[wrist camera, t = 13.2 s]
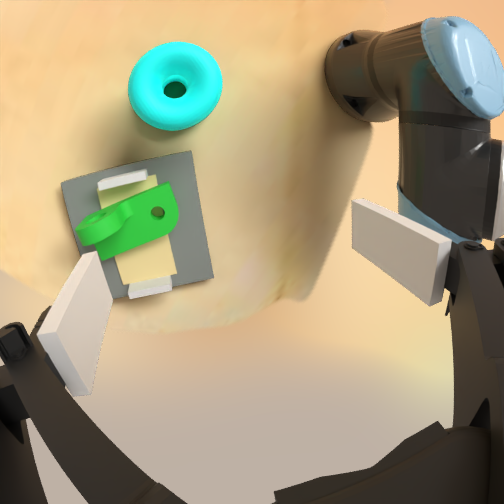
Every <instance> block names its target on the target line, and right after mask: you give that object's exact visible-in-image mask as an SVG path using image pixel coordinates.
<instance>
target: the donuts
mask: <svg viewBox="0 0 504 504" xmlns="http://www.w3.org/2000/svg"><path fill="white" fill-rule="evenodd" d="M174 81H177V82H181V83H182V84H183V85H184V86H185V87H186V93H185V94H184V95H183V96H182V97H180V98H176V99H172V98H169V97H167V96H166V95H165V94H164V88H165V87H166V85H167V84H169V83H171V82H174ZM221 92H222V75H221V71H220V68H219V66H218V64H217V62H216V61H215V59H214V58H213V57H212V56H211V55H210V54H209V53H208V52H207V51H206V50H204V49H203V48H201V47H199V46H197V45H194V44H191V43H186V42H170V43H165V44H162V45H159V46H157V47H155V48H153V49H151V50H150V51H148V52H147V53H146V54H145V55H143V56H142V57H141V58H140V60H139V61H138V62H137V63H136V65H135V66H134V68H133V70H132V72H131V75H130V78H129V83H128V95H129V100H130V103H131V105H132V108H133V109H134V111H135V112H136V114H137V115H138V116H139V117H140V118H141V119H142V120H143V121H144V122H146V123H147V124H149V125H151V126H153V127H156V128H159V129H163V130H168V131H177V130H183V129H186V128H189V127H192V126H194V125H196V124H198V123H199V122H201V121H202V120H204V119H205V118H206V117H207V116H208V115H209V114H210V113H211V112H212V111H213V110H214V108H215V107H216V105H217V103H218V101H219V99H220V96H221Z"/></svg>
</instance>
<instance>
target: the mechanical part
mask: <svg viewBox="0 0 504 504" xmlns="http://www.w3.org/2000/svg"><path fill="white" fill-rule="evenodd" d="M157 206H159V207H161V208H163V209H164V211H165V212H164V214H163V215H162V216H155V215H154V214H153V213H152V209H153V208H154V207H157ZM178 216H179V212H178V204H177V201H176V199H175V196H174V193H173V191H172V188H171V185H170V183H169V181H168V182H165V183H162V184H160V185H157V186H155V187H152V188H150V189H147V190H145V191H143V192H140V193H138V194H135V195H133V196H131V197H128V198H126V199H124V200H121V201H119V202H117V203H114V204H112V205H110V206H108V207H105V208H103V209H101V210H99V211H96V212H94V213H92V214H90V215H88V216H86V217H85V218H84V219H83V221H82V222H81V223H80V224H79V225H78V226H77V227H76V228H75V231H76V233H77V235H78V237H79V239H80V242H81V244H82V245H83V246H88V245H91V244H94V245H95V247H96V249H97V252H98V254H99V256H100V258H101V260H102V261H104V260H106V259H108V258H111V257H113V256H115V255H118V254H120V253H123V252H125V251H128V250H130V249H133V248H135V247H137V246H140V245H142V244H145V243H147V242H150V241H152V240H155V239H157V238H160V237H162V236H165V235H167V234H168V233H170V232H171V231H172V230H173V229H174V227H175V226H176V224H177V221H178Z"/></svg>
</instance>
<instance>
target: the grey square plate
mask: <svg viewBox="0 0 504 504" xmlns="http://www.w3.org/2000/svg"><path fill="white" fill-rule="evenodd" d="M168 181H169V183H170V185H171V188H172V191H173V193H174V196H175V199H176V201H177V204H178V212H179V216H178V221H177V224H176V226H175V227H174V229H173V230H172V231H171V232H170V233H168V234H167V235H165V236H162V237H160V238H157V239H155V240H152V241H150V242H147V243H145V244H142V245H140V246H137V247H135V248H133V249H130V250H128V251H125V252H123V253H120V254H118V255H115V256H113V257H111V258H108V259H106V260H104V261H102V260H101V258H100V256H99V254H98V257H99V260H100V263H101V266H102V269H103V272H104V275H105V278H106V281H107V284H108V287H109V290H110V293H111V295H112V298H113V299H115V298H120V297H125V296H129V298H130V299H133V298H138V297H143V296H148V295H153V294H158V293H163V292H167V291H172V287H174V286H179V285H183V284H188V283H193V282H197V281H202V280H207V279H212V278H214V275H213V270H212V265H211V259H210V254H209V249H208V244H207V238H206V233H205V227H204V222H203V216H202V211H201V205H200V199H199V193H198V187H197V181H196V175H195V169H194V163H193V157H192V151H186V152H181V153H175V154H170V155H165V156H161V157H156V158H151V159H147V160H142V161H138V162H134V163H129V164H125V165H121V166H117V167H113V168H109V169H105V170H101V171H98V172H94V173H90V174H87V175H83V176H80V177H76V178H73V179H69V180H66V181H64V182H62V183H61V187H62V191H63V195H64V199H65V203H66V207H67V211H68V215H69V218H70V222H71V226H72V229H73V233H74V236H75V239H76V243H77V246H78V249H79V252H80V255H81V256H82V255H83V254H86V253H90V252H94V251H97V249H96V247H95V245H94V244H91V245H88V246H83V245H82V244H81V242H80V239H79V237H78V235H77V233H76V231H75V228H76V227H77V226H78V225H79V224H80V223H81V222H82V221H83V219H84V218H85V217H86V216H88V215H90V214H92V213H94V212H96V211H99V210H101V209H103V208H105V207H108V206H110V205H112V204H114V203H117V202H119V201H121V200H124V199H126V198H128V197H131V196H133V195H135V194H138V193H140V192H143V191H145V190H147V189H150V188H152V187H155V186H157V185H160V184H162V183H165V182H168ZM164 212H165V211H164V209H163V208H161V207H159V206H157V207H154V208H153V209H152V213H153V214H154V215H155V216H162V215H163V214H164ZM97 253H98V252H97Z"/></svg>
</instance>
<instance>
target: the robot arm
mask: <svg viewBox="0 0 504 504" xmlns="http://www.w3.org/2000/svg"><path fill="white" fill-rule="evenodd" d="M325 75H326V80H327V84H328V87H329V89H330V92H331V94H332V96H333V97H334V99H335V100H336V102H337V103H338V104H339V105H340V107H341V108H342V109H343V110H344V111H346V112H347V113H348V114H349V115H351V116H353V117H354V118H357V119H359V120H362V121H366V122H385V121H389V120H392V119H394V118H396V117H398V116H399V177H398V182H397V190H398V212H399V214H397V213H395V212H393V211H391V210H389V209H386V208H384V207H382V206H380V205H377V204H375V203H373V202H370V201H368V200H366V199H357V200H352V248H353V249H354V250H355V251H357V252H358V253H360V254H361V255H362V256H364V257H365V258H367V259H368V260H369V261H370V262H372V263H373V264H375V265H376V266H377V267H379V268H380V269H381V270H383V271H384V272H385V273H387V274H388V275H389V276H391V277H392V278H393V279H395V280H396V281H397V282H398V283H400V284H401V285H402V286H404V287H405V288H406V289H408V290H409V291H410V292H412V293H413V294H414V295H415V296H417V297H418V298H419V299H420V300H422V301H423V302H424V303H426V304H427V305H428V306H432V305H434V304H436V303H439V302H441V301H442V297H443V293H444V288H446V289H447V290H448V291H450V296H449V300H448V305H447V309H446V313H445V315H446V316H447V315H448V313H449V312H450V318H451V330H452V343H453V363H454V416H453V427H452V428H448V429H444V428H443V427H442V425H441V424H440V423H439V422H438V421H437V422H435V423H433V424H432V425H430V426H428V427H426V428H425V429H423V430H421V431H419V432H418V433H416V434H414V435H413V436H411V437H409V438H407V439H405V440H404V441H403V442H402V443H400V444H399V445H398V446H397V447H396V448H395V449H394V450H393V451H391V452H390V453H389V454H388V455H386V456H385V457H384V458H383V459H382V460H380V461H379V462H378V463H377V464H375V465H374V466H373V467H371V468H368V469H364V470H359V471H354V472H349V473H343V474H337V475H331V476H323V477H319V478H316V479H313V480H310V481H307V482H304V483H301V484H298V485H294V486H291V487H288V488H285V489H281V490H278V491H274V495H275V500H276V502H274V503H272V504H504V238H499V237H501V236H502V235H504V141H501V140H496V139H492V138H491V137H490V119H493V118H495V117H497V116H499V115H500V114H501V113H502V112H503V111H504V70H503V66H502V63H501V61H500V58H499V56H498V54H497V52H496V50H495V48H494V47H493V46H492V44H491V43H490V41H489V40H488V38H487V37H486V36H485V34H484V33H483V32H482V31H481V30H480V29H479V28H478V27H476V26H475V25H474V24H472V23H471V22H469V21H468V20H465V19H463V18H460V17H456V16H448V17H441V18H428V19H426V20H424V21H421V22H418V23H414V24H410V25H407V26H404V27H401V28H397V29H394V30H391V31H388V32H378V31H370V30H358V31H353V32H350V33H348V34H346V35H343V36H341V37H340V38H338V39H337V40H336V41H335V42H334V43H333V44H332V46H331V47H330V49H329V51H328V53H327V57H326V62H325ZM413 123H414V124H413ZM424 124H425V125H424ZM434 125H435V126H434ZM482 239H487V240H491V241H495V243H494V249H493V250H486V248H485V247H484V246H483V245H482V244H480V243H481V242H482ZM112 303H113V298H112V295H111V293H110V290H109V287H108V284H107V281H106V278H105V275H104V272H103V269H102V266H101V263H100V260H99V257H98V253H97V251H94V252H90V253H86V254H83V255H82V256H81V258H80V259H79V261H78V263H77V264H76V266H75V267H74V269H73V271H72V272H71V274H70V276H69V277H68V279H67V281H66V282H65V284H64V286H63V287H62V289H61V291H60V293H59V294H58V296H57V298H56V300H55V301H54V303H53V305H52V306H49V307H48V308H47V309H46V310H45V311H44V312H43V313H42V314H41V316H40V318H39V319H38V322H37V323H36V325H35V328H34V329H33V330H32V332H31V334H30V336H29V335H28V334H27V331H26V329H25V327H24V325H23V324H22V323H20V322H14V323H10V324H8V325H6V326H4V327H2V328H1V329H0V357H1V359H2V360H3V362H4V364H5V365H3V366H0V504H48V502H47V499H46V496H45V493H44V490H43V487H42V484H41V480H40V477H39V474H38V470H37V467H36V463H35V460H34V455H33V451H32V447H31V443H30V438H29V434H28V429H27V424H26V419H27V418H31V420H32V421H33V423H34V425H35V427H36V428H37V430H38V432H39V434H40V435H41V437H42V439H43V440H44V442H45V443H46V445H47V447H48V448H49V450H50V451H51V453H52V454H53V456H54V457H55V459H56V460H57V462H58V463H59V465H60V466H61V468H62V469H63V471H64V472H65V473H66V475H67V476H68V477H69V479H70V480H71V482H72V483H73V484H74V486H75V487H76V488H77V489H78V491H79V492H80V493H81V495H82V496H83V497H84V499H85V500H86V501H87V502H88V503H89V504H187V503H186V502H184V501H183V500H182V499H180V498H179V497H177V496H176V495H175V494H174V493H172V492H171V491H170V490H168V489H167V488H166V487H165V486H163V485H162V484H160V483H156V482H155V481H154V480H153V479H151V478H150V477H149V476H148V475H147V474H145V473H144V472H143V471H142V470H141V469H140V468H138V467H137V465H135V464H134V463H133V462H132V461H131V460H130V459H129V458H128V457H127V456H126V455H125V454H124V453H123V452H122V451H121V450H120V449H119V448H118V447H116V445H115V444H113V442H112V441H111V440H109V438H108V437H107V436H106V435H105V434H104V433H103V432H102V431H101V430H100V429H99V428H98V427H97V426H96V424H95V423H94V422H93V421H92V420H91V419H90V418H89V417H88V416H87V414H86V413H85V412H84V411H83V410H82V409H81V407H80V406H79V405H78V404H77V403H76V402H75V400H74V399H73V398H72V397H71V395H70V394H69V393H68V392H67V390H66V389H65V385H66V386H67V388H68V390H69V391H70V393H71V394H72V396H84V395H91V393H92V387H93V382H94V377H95V372H96V368H97V363H98V358H99V353H100V350H101V345H102V341H103V337H104V332H105V329H106V325H107V321H108V317H109V314H110V310H111V306H112Z"/></svg>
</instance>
